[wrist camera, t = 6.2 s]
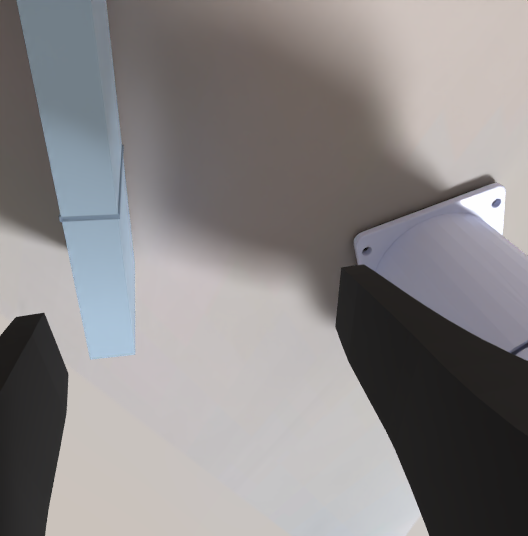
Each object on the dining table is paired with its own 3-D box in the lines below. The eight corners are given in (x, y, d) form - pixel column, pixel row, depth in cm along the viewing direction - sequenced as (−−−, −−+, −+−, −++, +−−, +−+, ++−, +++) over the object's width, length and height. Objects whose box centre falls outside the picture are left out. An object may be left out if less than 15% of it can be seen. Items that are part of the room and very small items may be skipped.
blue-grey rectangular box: (136, 265, 21) (136, 354, 16) (98, 267, 20) (88, 359, 16) (96, -106, 13) (77, -130, 9) (36, -113, 13) (-16, -142, 8)
